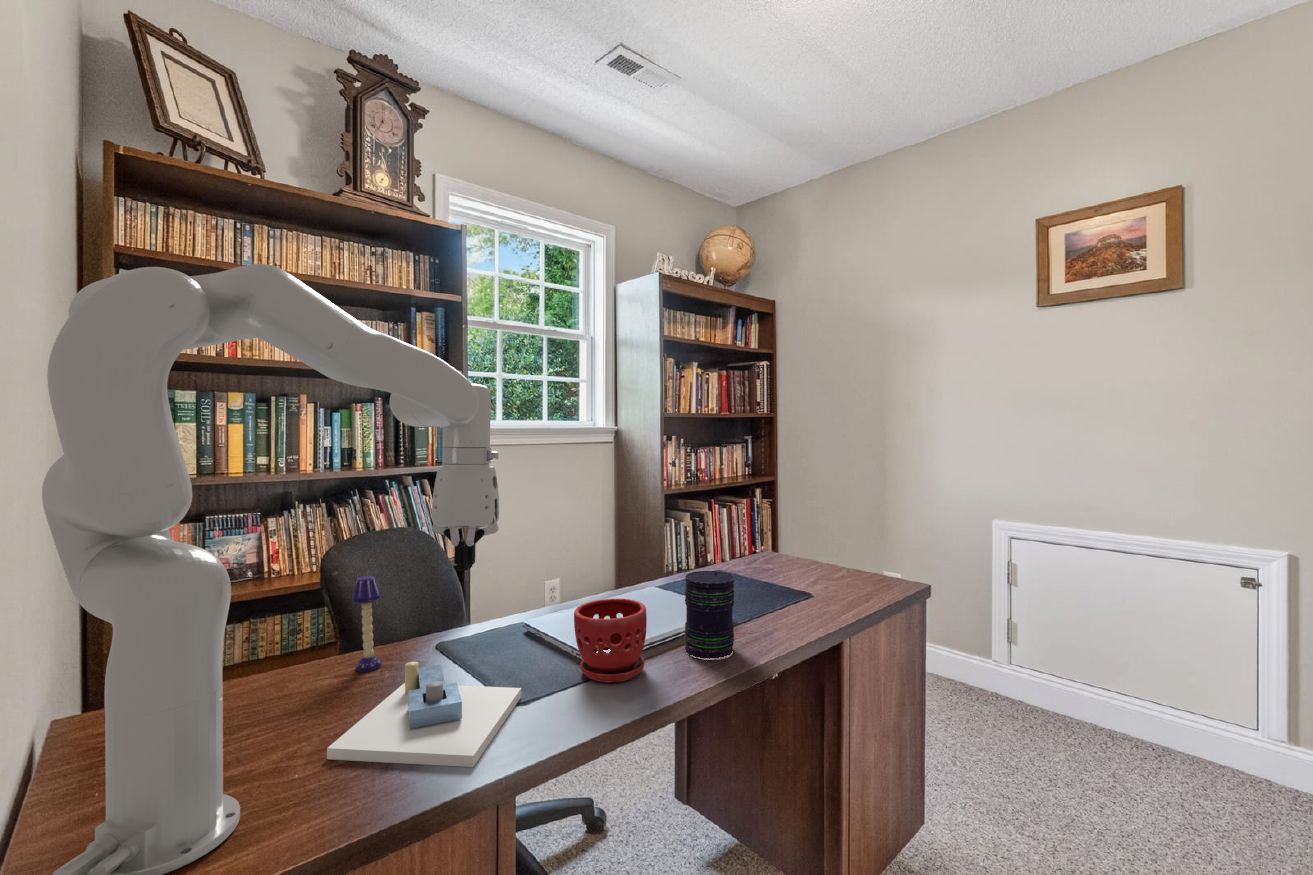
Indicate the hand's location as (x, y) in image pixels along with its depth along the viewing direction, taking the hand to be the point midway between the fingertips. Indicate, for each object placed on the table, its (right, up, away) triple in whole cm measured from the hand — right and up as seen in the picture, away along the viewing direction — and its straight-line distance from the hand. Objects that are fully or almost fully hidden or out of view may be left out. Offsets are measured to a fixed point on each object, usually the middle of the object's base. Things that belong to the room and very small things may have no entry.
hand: (464, 568), depth 97 cm
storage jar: (+42, -21, +19) cm, 51 cm away
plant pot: (+23, -21, +9) cm, 33 cm away
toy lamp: (-22, -21, +11) cm, 32 cm away
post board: (-1, -21, -10) cm, 23 cm away
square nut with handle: (-3, -19, -6) cm, 20 cm away
